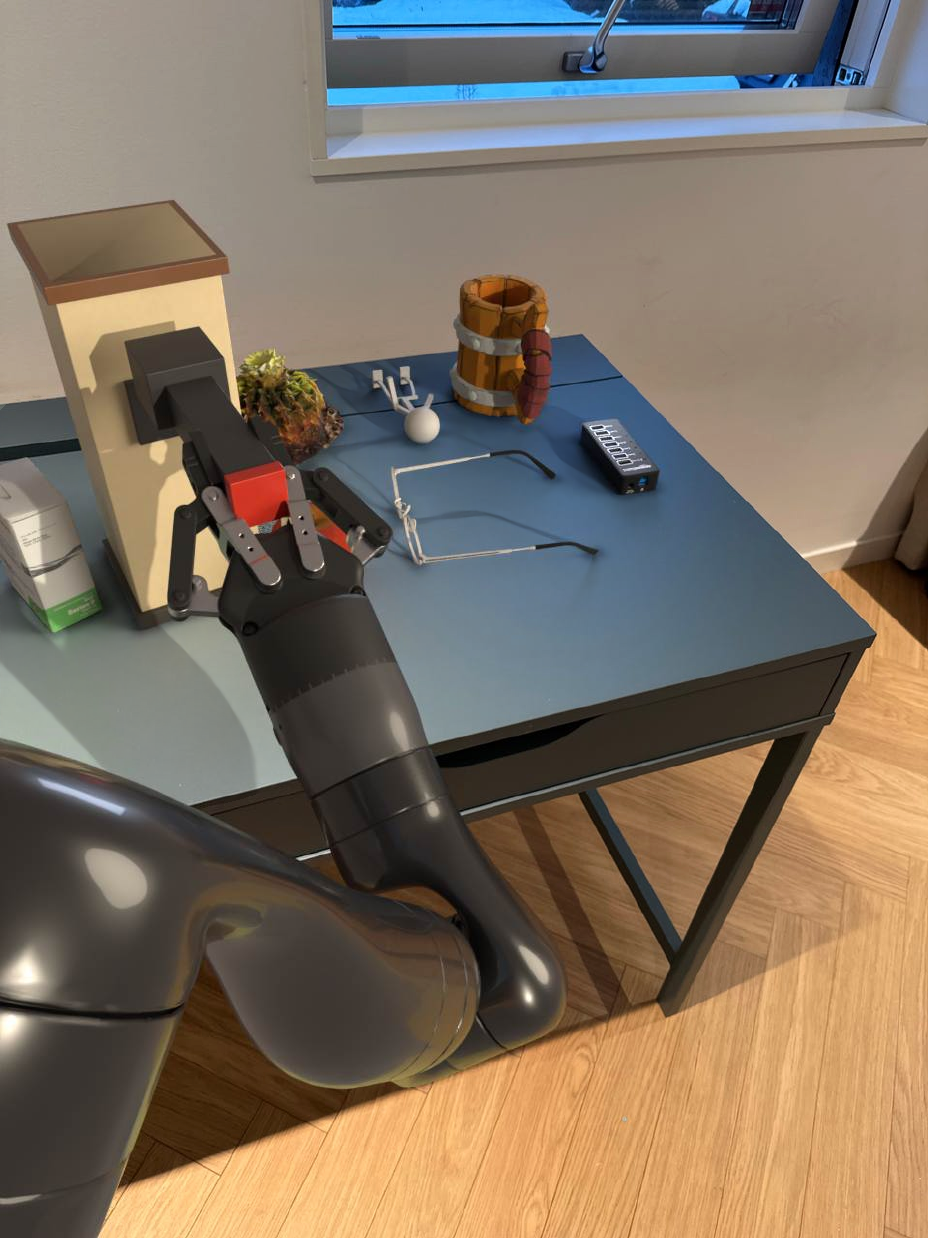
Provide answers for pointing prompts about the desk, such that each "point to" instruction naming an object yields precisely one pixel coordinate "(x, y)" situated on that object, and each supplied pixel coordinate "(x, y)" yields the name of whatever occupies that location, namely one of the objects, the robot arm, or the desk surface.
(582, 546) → the eyeglasses
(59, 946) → the robot arm
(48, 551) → the ink box
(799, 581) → the desk surface
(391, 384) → the figurine
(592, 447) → the multiport hub
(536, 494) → the desk surface
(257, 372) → the cactus
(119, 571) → the tall tapered bin
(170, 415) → the flashlight
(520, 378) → the mug
